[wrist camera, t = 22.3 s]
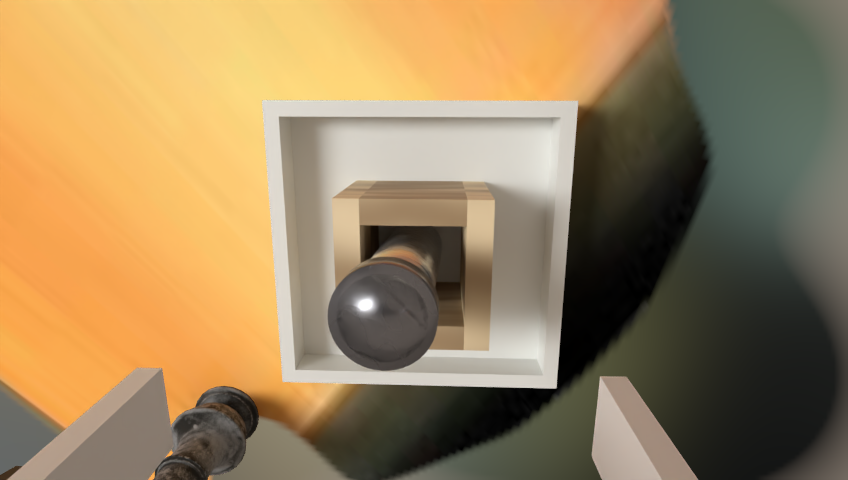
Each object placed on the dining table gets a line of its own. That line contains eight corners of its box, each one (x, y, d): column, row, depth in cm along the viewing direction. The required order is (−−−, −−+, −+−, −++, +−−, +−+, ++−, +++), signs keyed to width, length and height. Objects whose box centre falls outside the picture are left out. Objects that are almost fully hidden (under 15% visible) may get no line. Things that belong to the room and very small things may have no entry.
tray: (277, 101, 34) (262, 100, 31) (566, 102, 34) (578, 100, 31) (295, 361, 39) (282, 381, 36) (547, 367, 39) (556, 388, 36)
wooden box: (356, 180, 35) (331, 198, 27) (483, 181, 35) (494, 200, 27) (360, 299, 37) (337, 347, 29) (479, 301, 37) (489, 350, 29)
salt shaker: (254, 453, 42) (181, 584, 30) (187, 435, 41) (86, 559, 30) (268, 393, 40) (196, 506, 29) (198, 374, 40) (97, 480, 28)
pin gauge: (382, 213, 36) (326, 263, 21) (448, 215, 35) (439, 267, 21) (382, 277, 37) (328, 368, 22) (446, 279, 36) (436, 373, 22)
